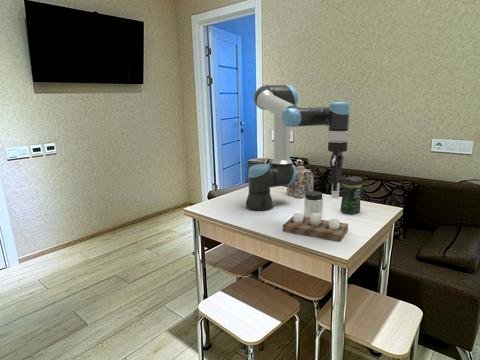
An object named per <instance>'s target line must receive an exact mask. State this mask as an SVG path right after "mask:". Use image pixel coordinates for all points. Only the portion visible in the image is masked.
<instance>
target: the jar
mask: <svg viewBox="0 0 480 360" xmlns="http://www.w3.org/2000/svg"><path fill="white" fill-rule="evenodd" d="M323 205H324V198H323V193H322V192H321V191H318V190H317V191H316V190H315V191H314V190H313V191H309V192H306V196H305V197H304V205H303V206H304V211H303V212H304V214H303V217H308V218H311V213H320V214H321V218H322V217H323V212H324V211H323V210H324V209H323V207H324V206H323Z"/></svg>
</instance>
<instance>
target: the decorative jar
mask: <svg viewBox="0 0 480 360" xmlns="http://www.w3.org/2000/svg"><path fill="white" fill-rule="evenodd" d="M296 170H297V176H296V180H295V181H294V182H293V184H291V185H287V186H286V195H288V196H291V197H292V198H293V197H294V198H297V199H302V198H304V199H305V196H306V192H309V191H314V177H315V176H314V175H315V174H314V173H313V172H312V170H311V169H307V168H305V166H304V165H297V166H296Z"/></svg>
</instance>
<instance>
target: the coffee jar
mask: <svg viewBox="0 0 480 360" xmlns="http://www.w3.org/2000/svg"><path fill="white" fill-rule="evenodd" d="M341 183H342V184H341V185H342V194H341V196H342V197H341V202H340V211H341V212H342V213H343V214H349V215H353V214H357V213H360V212H361V190H362V186H363V179H362V177H360V176H356V175H354V176H348V177H344V178H343V179H342V182H341Z"/></svg>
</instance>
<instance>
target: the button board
mask: <svg viewBox="0 0 480 360" xmlns="http://www.w3.org/2000/svg"><path fill="white" fill-rule="evenodd" d="M310 221H311V218H308V217H305V216H303V224H297V223H293V216H292V217H290V218H289V219H288V220H287V221H286V222H285V223H283V224H282V232H286V233H291V234H296V235H301V236H306V237H312V238H318V239H323V240H328V241H333V242H334V241H335V242H337V243H338V242H339V243H341V242H342V240H343V238H344V237H345V236H346V234H347V232H348V230H349V223H348V222H347V223H345V222H340V223H339V231H338V230H332V229H328V228H329V220H326V219H321V226H320V227H314V226H311V225H310Z"/></svg>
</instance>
